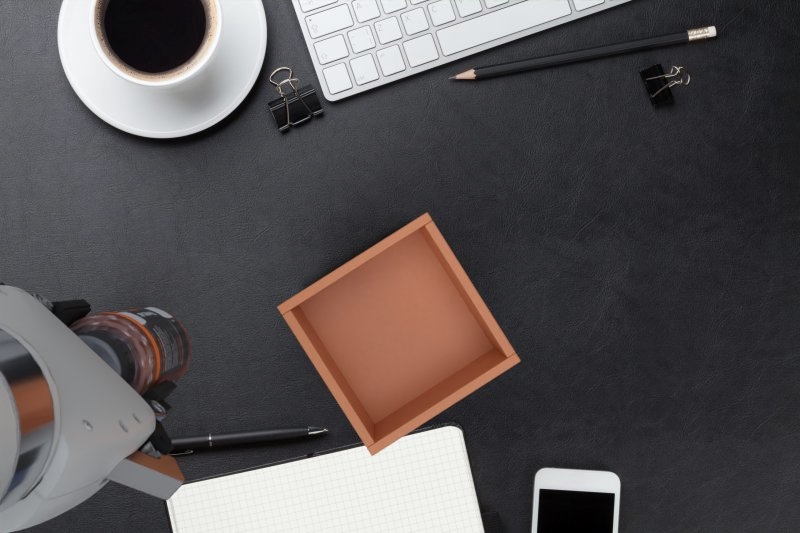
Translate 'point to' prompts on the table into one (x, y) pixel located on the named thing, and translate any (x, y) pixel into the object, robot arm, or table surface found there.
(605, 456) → the table surface
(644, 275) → the table surface
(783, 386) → the table surface
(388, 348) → the bin
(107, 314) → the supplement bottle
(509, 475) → the table surface
